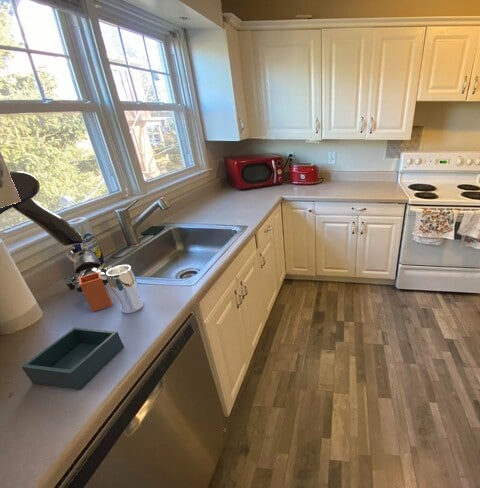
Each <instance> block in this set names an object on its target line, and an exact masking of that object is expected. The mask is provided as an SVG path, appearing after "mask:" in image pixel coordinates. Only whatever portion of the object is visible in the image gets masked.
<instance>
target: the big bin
mask: <svg viewBox="0 0 480 488" xmlns="http://www.w3.org/2000/svg"><path fill="white" fill-rule="evenodd" d="M124 348H125V345H124V344H123V341H122V339H121V336H120V335H119V332H118V331H115V330H105V329H95V328H86V327H79V326H78V327H77V326H74V327H73V328H71V329H70V330H69V331H67V332H66V333H65V334H63V335H62V336H61V337H59V338H58V339H56V340H55V341H54V342H52V343H51V344H50V345H49V346H47V347H46V348H44V349H43V350H42V351H40V352H39V353H37V354H36V355H35V356H34V357H32V358H31V359H29V360H28V361H27V362H25V363H24V364H23V365H21V369H22V370H23V372H24V373H25V375H26V376H27V378H28V379H29V380H30V382H31V383H32V384H36V385H43V386H49V387H56V388H57V387H58V388H64V389H69V390H78V391H81V390H82V389H83V388H84V387H85V386H86V385H87V384H88V383H89V382H90V381H92V379H93V378H94V377H96V375H97V374H99V373H100V371H101V370H103V369H104V367H106V365H108V364H109V363H110V362H111V361H112V360H113V358H115V357H116V356H117V355H118V354H119V353H120V352H121V351H122V350H123V349H124Z"/></svg>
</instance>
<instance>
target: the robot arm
mask: <svg viewBox="0 0 480 488" xmlns="http://www.w3.org/2000/svg"><path fill="white" fill-rule="evenodd" d="M9 172H10V175H11V178H12V180H13V182H14V184H15V187H16V189H17V191H18V194H19V197H20V199H21V202H18V203H16V204H12V205H9V206H5V207H3V208H0V215H2V214H3V213H5V212H7V211H9V210H10V209H14V210H16V212H19V213H20V214H22V215H23V216H24V217H26V218H27V219H29V220H30V221H31V222H33V223H34V224H36V225H37V226H38V227H40V228H41V229H42V230H43V231H45V233H47V235H49V236H50V237H51V238H52V239H54V240H55V241H56V242H57V243H58V244H59V245H61V246H64V247H67V246H71V245H75V244H80V243H82V239H81V236H80V235H79V233H80V232H79V231H78V230H76V228H75V227H73V225H72V224H70V223H69V222H68V221H67V220H66V219H64V218H63V217H62V216H60V215H59V214H57V213H55V212H53V211H51V210H50V209H48V208H47V207H45V206H44V205H42V204H40V203H39V202H37V201H36V200H35V199H34V197H36V196H37V195H38V193H39V192H40V188H41V184H40V181H39V180H38V178H36V176H35V175H32V174H31V173H28V172H26V171H19V170H11V171H9ZM77 231H78V232H79V233H78V232H77ZM99 248H100V250H101V251H102V248H101V245H99ZM66 256H67V258H68V259H69V260H70V261H71V262H72V263H73V268H74V275H73V277H68V276H65V277H63V281H64V284H65V286H66V287H67V288H68V289H69V290H70V291H73V290H76V292H77V293H83V291H82V289H81V286H80V283H79V277H83V276H86V275H90V274H93V273H97V272H100V275H101V278H102V281H103V283H104V285H105V286H107V284H109V281H108V278H107V274H106V272H107V271H108V270H110V269H111V268H114V266H113V264H109V265H108V266H107V267H103V266H102V263H101V261H100V259H99V257H98V255H96V253H95V252H93V251H91V250H82V251H79V250H78V249H76V248H75V247H74V246H72V247H71V248H69V249H68V250H67V251H66Z"/></svg>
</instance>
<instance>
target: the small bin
mask: <svg viewBox="0 0 480 488" xmlns="http://www.w3.org/2000/svg"><path fill="white" fill-rule="evenodd" d="M79 283H80V286H81V289H82V291H83V292H82V293H83V295H84V297H85V299H86V302H87V303H88V305H89V307H90V310H91V312H92V313H94V312H97V311H100V310H103V309H105V308H108V307H111V306H113V301H112V299H111V296H110V294H109V291H108V289H107V285H104V283H103V281H102V278H101V275H100V272H97V273H93V274H90V275H86V276H83V277H79Z"/></svg>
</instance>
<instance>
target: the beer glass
mask: <svg viewBox="0 0 480 488" xmlns="http://www.w3.org/2000/svg"><path fill="white" fill-rule="evenodd" d="M105 274H107V278H108V284H109V286H110V289H111V290H112V292H113V293H114V295H115V296H116V298H117V300H118V301H119V302H120V305H121V311H122V313H123V314H133V313H136V312H138V311H140V310H141V309H142V308H143V307H144V303H143V301H142V299H141V298H140V296H139V289H138V288H139V287H138V283H137V278H136V275H135V273H134V271H133V269H132V267H131V266H130V265H129V264H121V265H116V266H113V268H111V269H110V270H108V271H107V272H106V271H105Z"/></svg>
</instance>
